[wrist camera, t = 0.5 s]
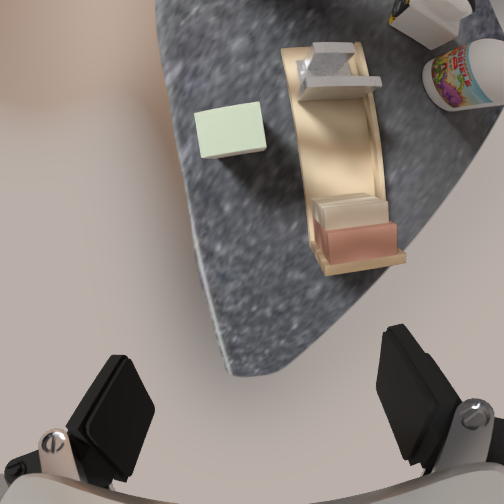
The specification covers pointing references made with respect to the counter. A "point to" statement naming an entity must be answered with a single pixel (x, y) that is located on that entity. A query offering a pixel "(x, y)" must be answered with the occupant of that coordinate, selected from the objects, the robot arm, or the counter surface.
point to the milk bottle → (467, 76)
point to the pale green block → (230, 130)
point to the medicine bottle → (430, 19)
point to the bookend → (331, 74)
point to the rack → (342, 176)
